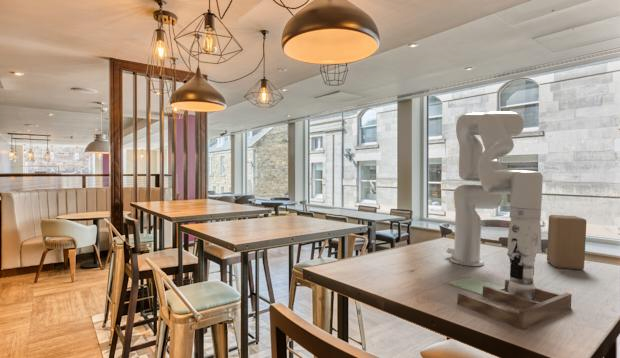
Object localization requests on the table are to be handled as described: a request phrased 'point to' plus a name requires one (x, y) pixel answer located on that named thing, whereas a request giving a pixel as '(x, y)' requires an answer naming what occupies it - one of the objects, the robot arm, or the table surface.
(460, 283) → the mat
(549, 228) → the block
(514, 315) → the bottle rack
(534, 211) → the robot arm
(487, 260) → the table surface
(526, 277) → the plastic bottle
